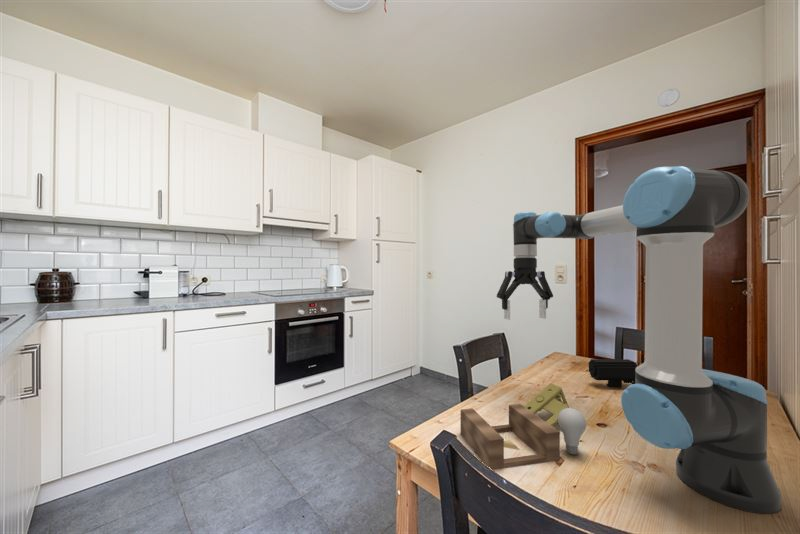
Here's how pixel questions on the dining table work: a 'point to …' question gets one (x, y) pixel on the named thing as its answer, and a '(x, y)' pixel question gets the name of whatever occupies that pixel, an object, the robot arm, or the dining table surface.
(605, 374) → the security camera
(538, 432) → the brown open rectangular frame
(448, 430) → the dining table surface
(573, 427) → the lightbulb
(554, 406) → the bracket
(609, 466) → the dining table surface
